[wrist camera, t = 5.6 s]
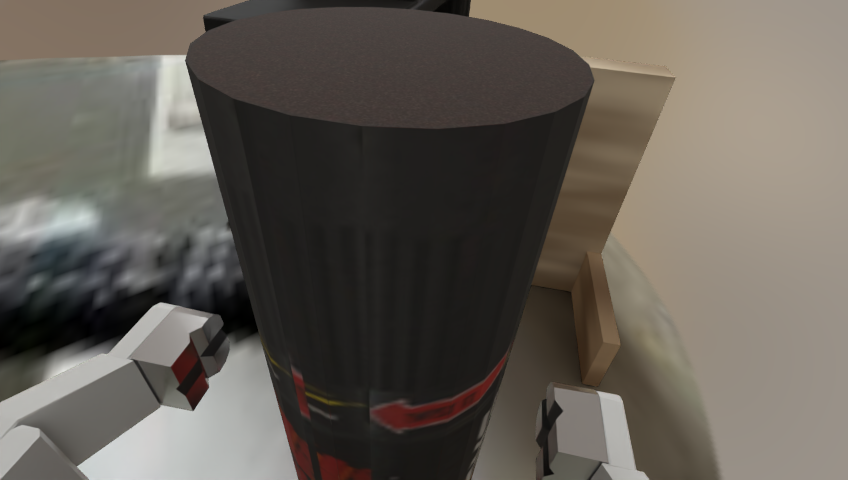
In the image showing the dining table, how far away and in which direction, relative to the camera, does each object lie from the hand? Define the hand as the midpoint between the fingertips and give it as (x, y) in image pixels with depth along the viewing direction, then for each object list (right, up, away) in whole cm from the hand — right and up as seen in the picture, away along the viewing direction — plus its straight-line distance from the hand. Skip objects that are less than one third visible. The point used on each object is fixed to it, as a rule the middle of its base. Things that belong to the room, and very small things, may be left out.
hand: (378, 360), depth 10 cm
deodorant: (0, -6, +6) cm, 8 cm away
